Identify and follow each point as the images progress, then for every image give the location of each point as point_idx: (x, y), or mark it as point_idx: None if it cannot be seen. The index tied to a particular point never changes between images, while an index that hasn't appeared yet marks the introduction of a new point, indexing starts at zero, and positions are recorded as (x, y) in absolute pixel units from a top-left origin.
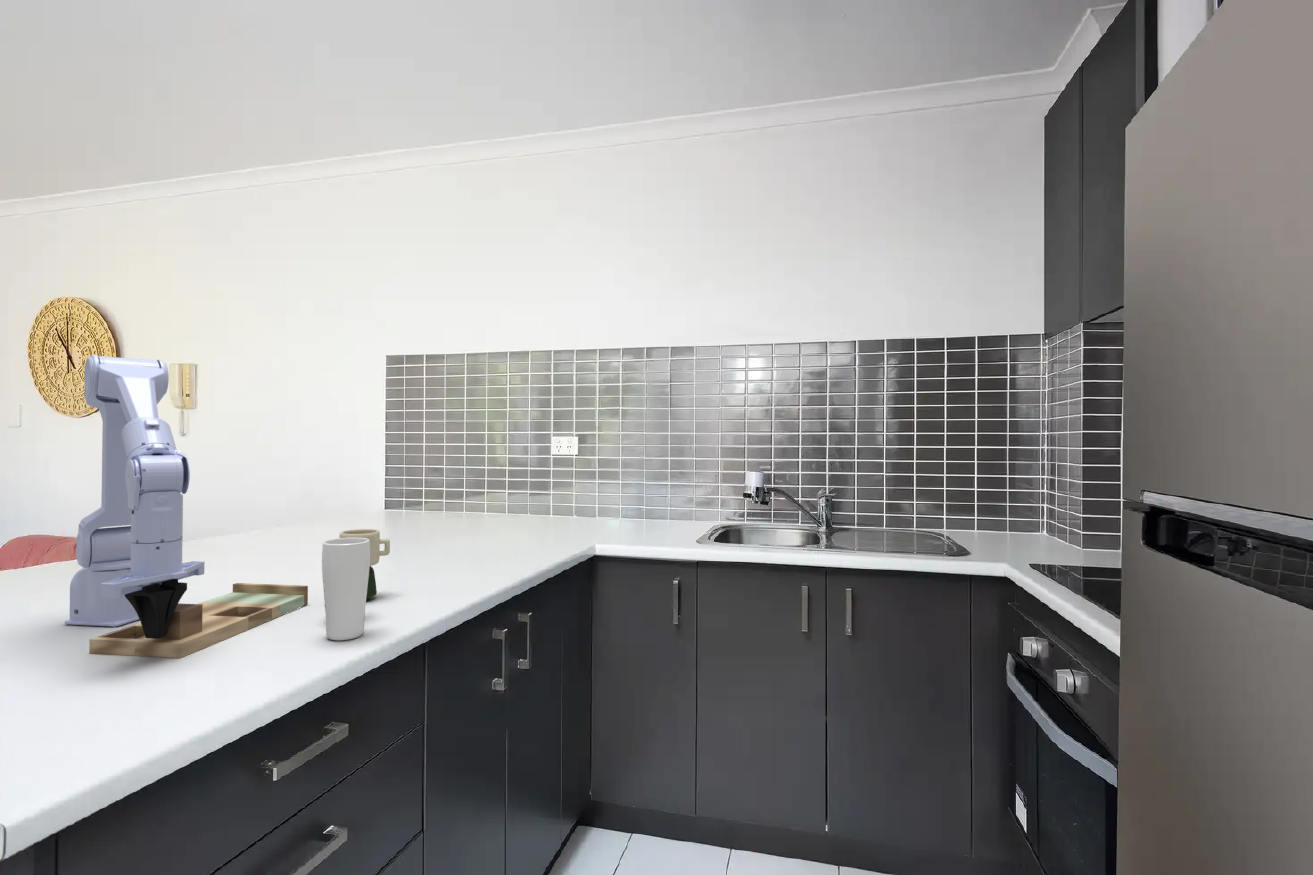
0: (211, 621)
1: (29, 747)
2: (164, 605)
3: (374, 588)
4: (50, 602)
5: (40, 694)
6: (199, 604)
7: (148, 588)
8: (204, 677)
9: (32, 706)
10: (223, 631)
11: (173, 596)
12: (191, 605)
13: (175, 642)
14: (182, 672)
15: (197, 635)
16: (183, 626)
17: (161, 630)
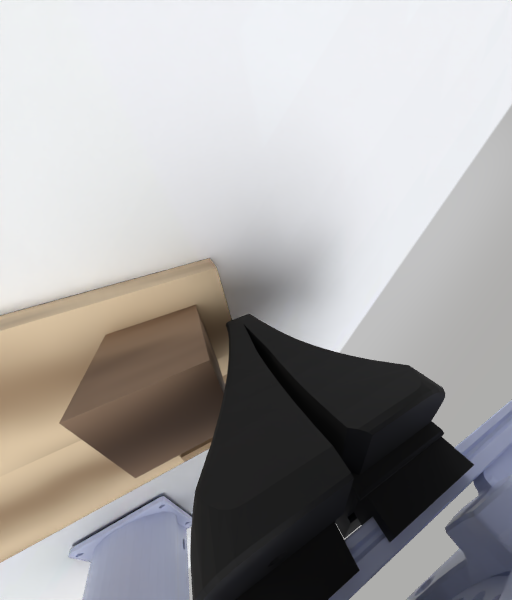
0: (20, 415)
1: (508, 92)
2: (306, 365)
3: None
4: None
5: (368, 284)
6: (73, 429)
7: (439, 462)
8: (288, 15)
9: (398, 248)
10: (24, 317)
11: (292, 407)
12: (114, 429)
13: (216, 290)
14: (274, 146)
15: (141, 303)
16: (185, 328)
17: (254, 320)
